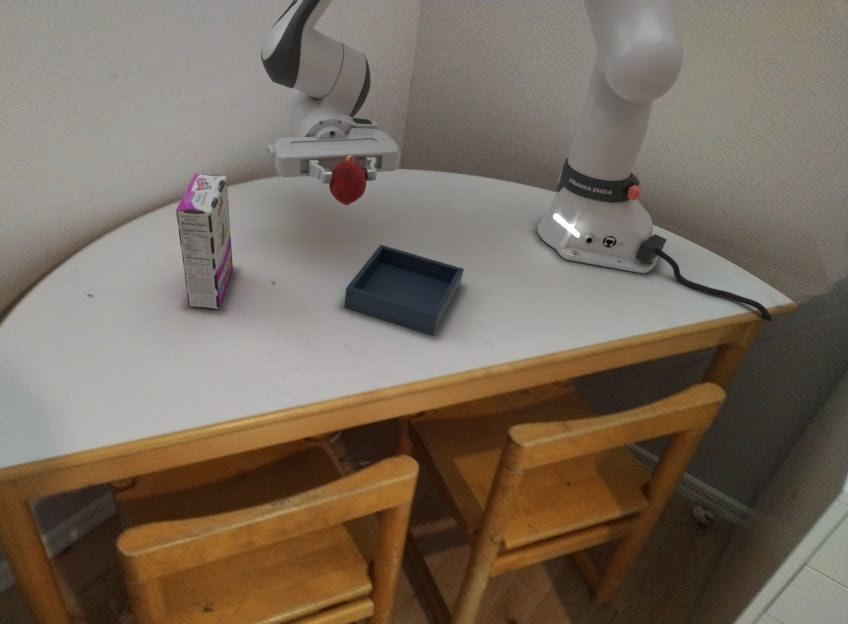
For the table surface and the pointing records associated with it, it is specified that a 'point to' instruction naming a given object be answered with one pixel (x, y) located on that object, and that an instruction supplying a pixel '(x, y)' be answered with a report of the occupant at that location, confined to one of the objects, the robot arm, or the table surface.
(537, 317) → the table surface
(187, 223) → the candy bar box
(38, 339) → the table surface
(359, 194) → the onion
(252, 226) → the table surface
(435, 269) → the tray
